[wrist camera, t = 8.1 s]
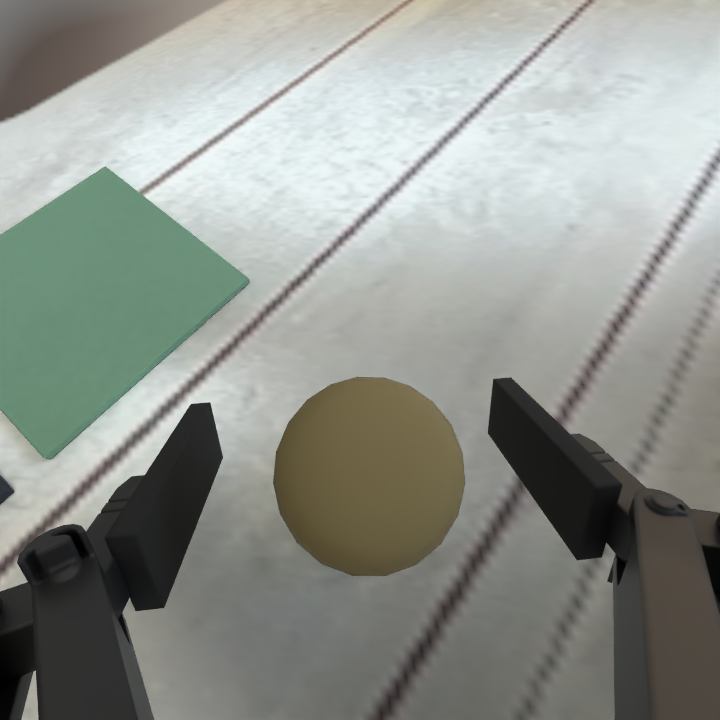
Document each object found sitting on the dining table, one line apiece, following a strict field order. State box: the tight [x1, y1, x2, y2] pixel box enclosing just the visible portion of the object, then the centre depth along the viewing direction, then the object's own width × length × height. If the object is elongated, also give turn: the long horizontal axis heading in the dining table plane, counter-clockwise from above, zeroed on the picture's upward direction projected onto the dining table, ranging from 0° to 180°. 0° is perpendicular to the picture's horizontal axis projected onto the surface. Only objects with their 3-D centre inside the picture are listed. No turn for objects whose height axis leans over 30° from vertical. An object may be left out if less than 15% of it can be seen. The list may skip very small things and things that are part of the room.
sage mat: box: [0, 167, 249, 459], centre depth 23 cm, size 14×14×1 cm
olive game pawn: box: [273, 377, 465, 576], centre depth 14 cm, size 6×6×11 cm
